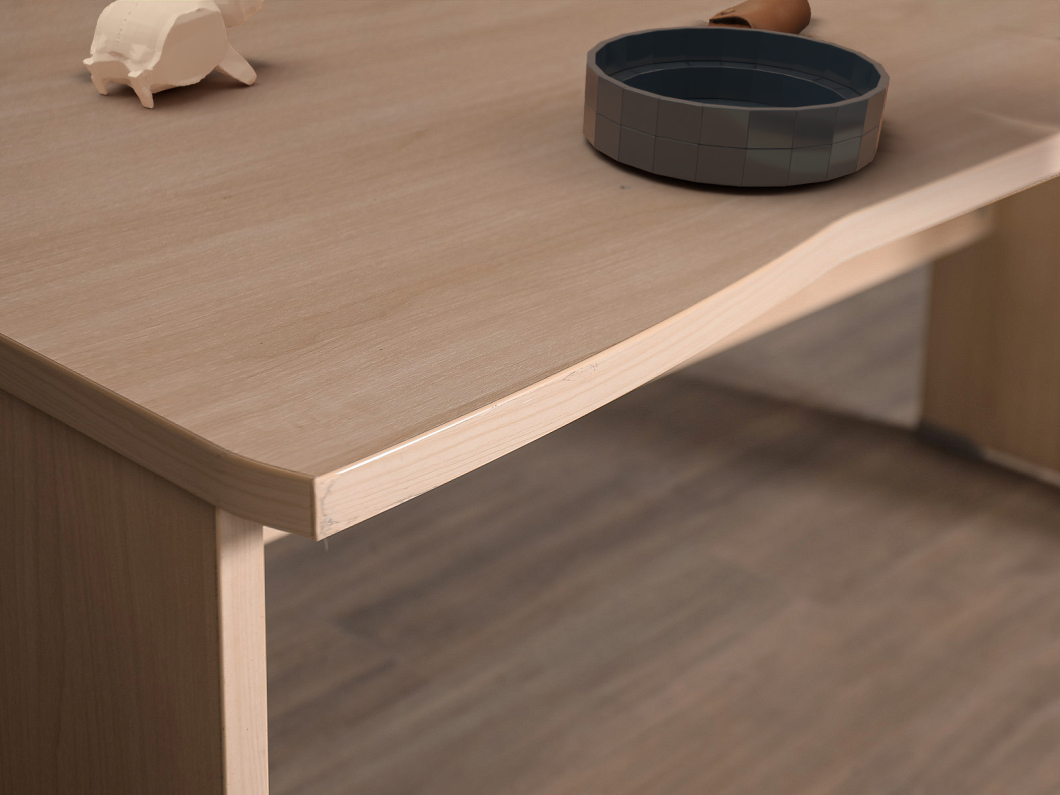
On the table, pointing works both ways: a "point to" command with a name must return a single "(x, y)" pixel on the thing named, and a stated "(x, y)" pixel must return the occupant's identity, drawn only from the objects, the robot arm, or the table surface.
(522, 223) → the table surface
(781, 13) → the sunglasses case
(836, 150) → the bowl
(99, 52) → the white animal figurine
